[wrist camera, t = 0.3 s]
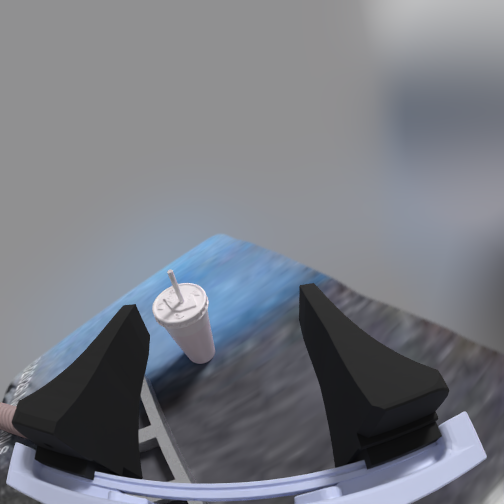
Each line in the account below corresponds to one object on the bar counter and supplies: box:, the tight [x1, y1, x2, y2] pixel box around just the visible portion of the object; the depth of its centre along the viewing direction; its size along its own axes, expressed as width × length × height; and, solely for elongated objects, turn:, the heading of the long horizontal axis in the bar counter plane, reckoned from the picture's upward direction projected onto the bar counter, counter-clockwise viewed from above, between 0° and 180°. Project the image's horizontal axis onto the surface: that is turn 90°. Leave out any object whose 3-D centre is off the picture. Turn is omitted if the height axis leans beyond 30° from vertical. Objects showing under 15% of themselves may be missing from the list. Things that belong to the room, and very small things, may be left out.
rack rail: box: [127, 375, 210, 504], centre depth 21 cm, size 24×8×2 cm, turn 30°
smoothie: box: [153, 270, 215, 364], centre depth 31 cm, size 6×6×14 cm
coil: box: [0, 402, 27, 439], centre depth 23 cm, size 5×5×18 cm
